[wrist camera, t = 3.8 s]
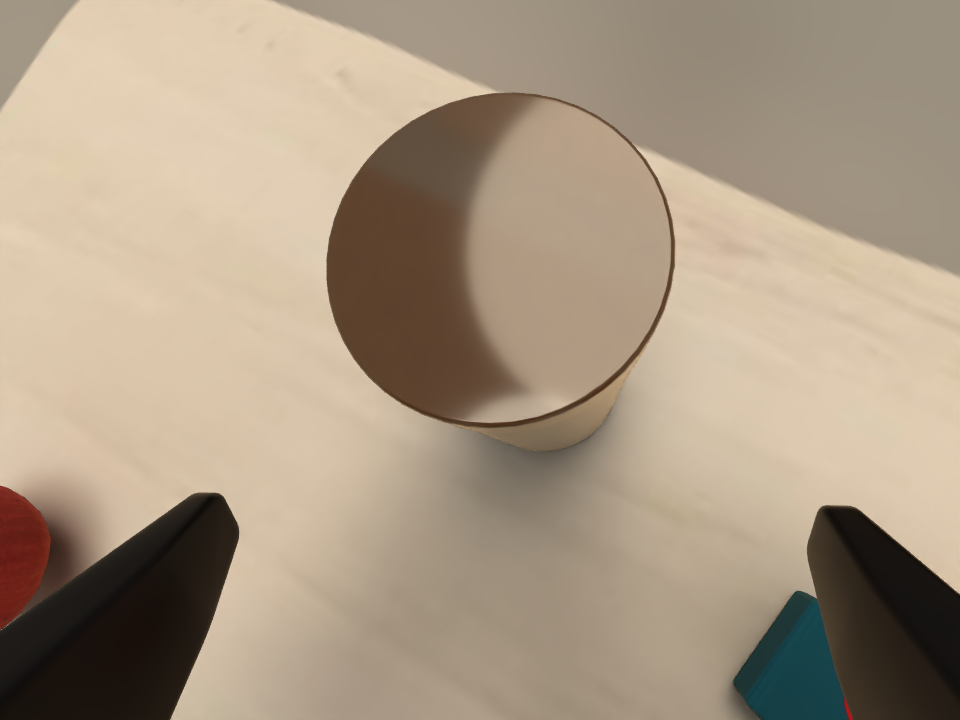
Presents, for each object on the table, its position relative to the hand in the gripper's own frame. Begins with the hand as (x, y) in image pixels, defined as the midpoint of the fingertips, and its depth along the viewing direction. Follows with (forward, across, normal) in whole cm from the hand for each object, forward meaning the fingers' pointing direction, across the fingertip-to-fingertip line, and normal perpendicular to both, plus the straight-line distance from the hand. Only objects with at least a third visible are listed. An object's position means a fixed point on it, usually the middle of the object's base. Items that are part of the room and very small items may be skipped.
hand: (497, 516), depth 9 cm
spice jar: (+11, 0, +6) cm, 13 cm away
